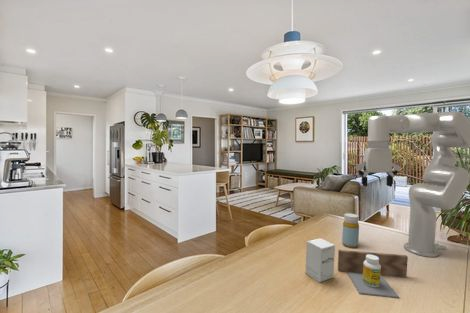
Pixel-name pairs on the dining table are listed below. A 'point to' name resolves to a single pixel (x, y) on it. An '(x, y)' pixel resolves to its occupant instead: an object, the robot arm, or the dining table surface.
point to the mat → (362, 288)
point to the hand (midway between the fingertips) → (376, 185)
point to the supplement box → (320, 259)
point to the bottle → (350, 230)
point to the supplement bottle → (371, 271)
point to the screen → (388, 262)
